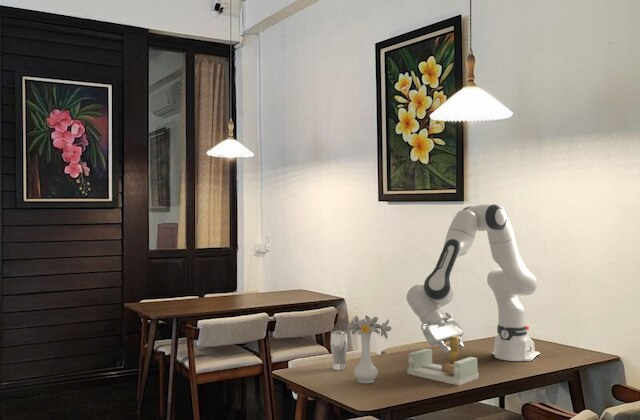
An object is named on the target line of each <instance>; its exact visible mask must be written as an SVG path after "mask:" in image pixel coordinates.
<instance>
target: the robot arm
mask: <svg viewBox="0 0 640 420" xmlns="http://www.w3.org/2000/svg"><path fill="white" fill-rule="evenodd" d="M477 231H478V232H479V231H480V232H484V231H486V232H487V239H488V243H489V248H490V252H491V256H492V260H493V261H494V262H495V263H496V264H497V265H498V266H499V267H497V268H493V269H491V270H490V271H489V272H488V274H487V277H486V282H487V283H486V284H488V286H489V288H490V289H491V290H492V293H493V294H494V297H495V301H496V304H497V311H498V312H497V314H498V317H497V319H498V320H497V321H498V323H497V327H496V329H497V335H496V336H495V337H494V347H493V348H494V349H493V350H494V351H491V355H492V354H493V355H492V356H494V355H495V356H494V357H495V358H496V359H497V360H502V361H509V362H510V361H511V362H532V361H534V360H535V359H536V358H537V357H536V356H537V355H539V354H540V355H541V352H540V351H538V350H537V351H536V350H535V341H534V340H532V338H531V337H530V336H529V335H528V332H527V331H529V330H530V325H527V324H526V325H525V319H526V317H525V315H526V314H525V311H526V310H525V307H524V306H523V304H522V303H521V301H520V300H519V297H521V296H523V297H524V296H525V297H526V296H531V295H532V294H534V293H535V291H536V290H537V286H538V282H537V278H536V276H535V275H534V274H533V273H532V272H531V271H530V270H529V269H528V268H527V266H526V264H525V263H524V261H523V259H522V257H521V255H520V253H519V250H518V246H517V242H516V237H515V233H514V229H513V227H512V224H511V221H510V219H509V217H508V213H507V211H506V209H505V208H504V207H503V206H501V205H499V204H478V205H470V206H466V207H464V208H462V209H460V210H459V211H458V212H457V213H456V214H455V216H454V217H453V219H452V221H451V223H450V225H449V227H448V230H447V233H446V235H445V239H444V244H443V248H442V251H441V253H440V256H439V258H438V261H437V263H436V264H435V268H434V269H433V270H432V272H430V274H429V275H428V276H427V277H426V279H425V280H424V283H423V284H415V285H413V286H412V287H411V288H410V289H409V290H408V292H407V294H406V297H405V298H406V302H407V303H408V305H409V307H410V308H411V310H412V312H413V313H414V314H415V315H417V317H418V318H419V321H420V322H421V325H420V329H421V331H422V334H423V336H424V338H425V339H426V342H428V344H429V345H430V346H432V347H434V346H438V347H439V348H440V349H442V350H443V352H445V353H450V351H451V349H450V345H449V346H447V345H446V344H445V343H448V342H450V337H451V336H456V337H459V349H460V350H461V349H464V347H465V344H464V342H463V340H462V338H461V337H463V335H464V330H463V329H462V327H461V326H460V325H459V323H458V322H457V321H456V319H454V316H453V315H452V314H451V313H449V312H445V311H442V310H441V309H440V308H442V307H444V306H446V305H448V304H449V303H450V302H451V301H452V300H453V296H454V292H453V289H452V286H451V281H450V277H451V273H452V271H453V268H454V266H455V263H456V261H457V259H458V258H459V257H462V256H465V255H466V254H468V253H469V251H470V249H471V248H472V245H473V242H474V240H475V237H476V233H477ZM518 296H519V297H518ZM540 355H539V356H540ZM535 357H536V358H535ZM534 358H535V359H534ZM533 359H534V360H533ZM531 360H532V361H531Z"/></svg>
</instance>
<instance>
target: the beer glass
mask: <svg viewBox="0 0 640 420" xmlns="http://www.w3.org/2000/svg"><path fill="white" fill-rule="evenodd" d="M346 332H347V331H342V330H335V331H331V333H330V351H331V355H332V365H331V370H333V371H339V372H341V371H346V370H347V368H348V367H347V361H346V360H347V351H348V332H347V333H346ZM345 333H346V334H345Z"/></svg>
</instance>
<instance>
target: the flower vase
mask: <svg viewBox="0 0 640 420" xmlns="http://www.w3.org/2000/svg"><path fill="white" fill-rule="evenodd" d="M364 317H365V319H364V318H363V319H360V318H359V316H357V315H355V316H354V317H352V319H351V322H349V323H348V324H347V329H346V330H347V331H345V332H346V333H347V334H348V333H349V332H350V331H351V335H355V334H356V333H357V335H360V337H361V357H360V361H359V363H358V364H357V365H356V367H355V368H354V370H353V375H354V377H355V379H357V382H358V383H360V384H372V383H374V382H375V380H376V378H377V377H378V376H379V371H378V368H377V367H376V366H375V365H374V364H373V362H372V358H371V352H370V351H371V348H370V347H371V346H370V345H371V343H370V342H371V336H372V334H373V333H372V332H374V333H376V334H377V335H379V336H381V337H384V338H385V340H387V339H388V333H387V332H390V331H392V326H389V323H390V320H389V319H387V320H386V321H385V322H382V323H381V324H380V323H377V322H378V321H379V318H378V316H374V317H373V318H372V317H370V316H369V315H365V316H364ZM346 333H345V334H346Z"/></svg>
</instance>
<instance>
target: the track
mask: <svg viewBox="0 0 640 420" xmlns="http://www.w3.org/2000/svg"><path fill="white" fill-rule="evenodd" d="M407 362H408V367H407V369H406V371H407V372H406V374H407V375H410V374H411V376H414V377H415V376H416V377H419V378H424V379H429V380H432V381H438V382H442V383H447V384H451V385H455V386H462V385H464V384H466V383H467V384H468V383H470V382H472V381H475V380H478V379H479V378H480V377H479V376H480V375H479V374H480V373H479V372H478V357H473V356H469V357H466V358H462V359H459V361H456V362H454V369H453V372H454V374H449V373H445V372H442V364H437V363H433V349H432V348H424V349H420V350H416V351H412V352H409V353H408V361H407Z"/></svg>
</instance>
